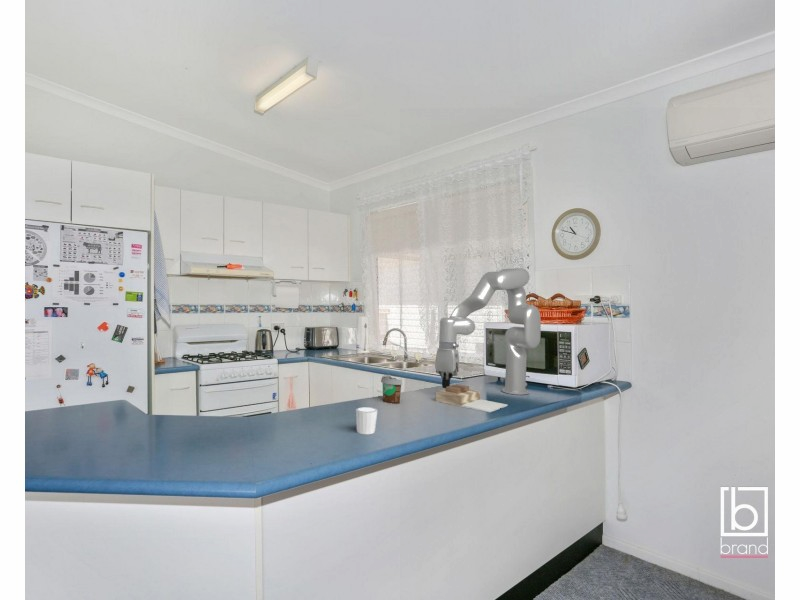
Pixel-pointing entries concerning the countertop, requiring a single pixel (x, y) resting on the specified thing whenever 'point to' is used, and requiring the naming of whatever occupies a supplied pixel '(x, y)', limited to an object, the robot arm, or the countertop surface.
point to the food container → (391, 389)
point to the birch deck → (457, 397)
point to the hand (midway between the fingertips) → (445, 387)
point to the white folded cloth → (484, 405)
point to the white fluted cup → (366, 420)
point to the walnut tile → (457, 389)
